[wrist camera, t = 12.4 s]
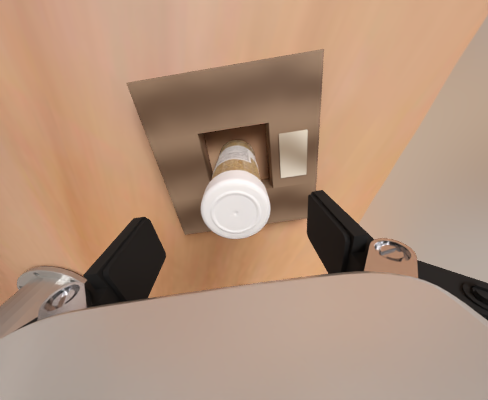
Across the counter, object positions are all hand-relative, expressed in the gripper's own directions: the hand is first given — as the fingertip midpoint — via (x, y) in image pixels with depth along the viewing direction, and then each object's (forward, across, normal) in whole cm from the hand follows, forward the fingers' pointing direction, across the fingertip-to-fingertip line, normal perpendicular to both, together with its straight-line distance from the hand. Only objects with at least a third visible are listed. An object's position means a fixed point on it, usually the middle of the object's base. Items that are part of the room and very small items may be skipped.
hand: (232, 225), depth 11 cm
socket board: (+14, -1, 0) cm, 14 cm away
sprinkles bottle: (+14, -1, 0) cm, 15 cm away
